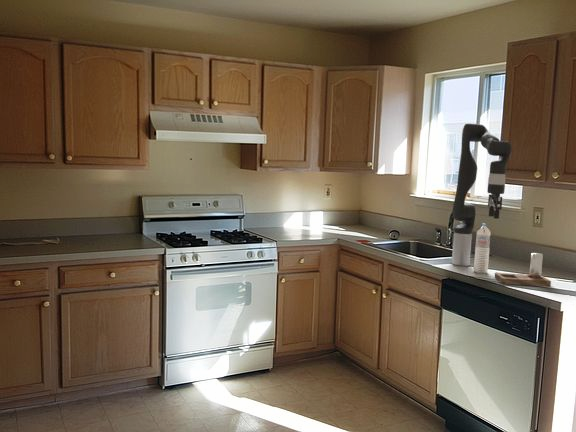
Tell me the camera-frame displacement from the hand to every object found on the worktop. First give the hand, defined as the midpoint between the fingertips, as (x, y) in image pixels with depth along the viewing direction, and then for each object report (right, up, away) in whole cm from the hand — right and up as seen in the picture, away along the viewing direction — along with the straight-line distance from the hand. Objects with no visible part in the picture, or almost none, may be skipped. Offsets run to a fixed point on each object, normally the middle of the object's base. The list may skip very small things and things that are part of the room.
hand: (493, 217), depth 263 cm
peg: (+19, -31, 0) cm, 37 cm away
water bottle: (0, -28, +19) cm, 34 cm away
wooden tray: (+14, -31, 0) cm, 34 cm away
